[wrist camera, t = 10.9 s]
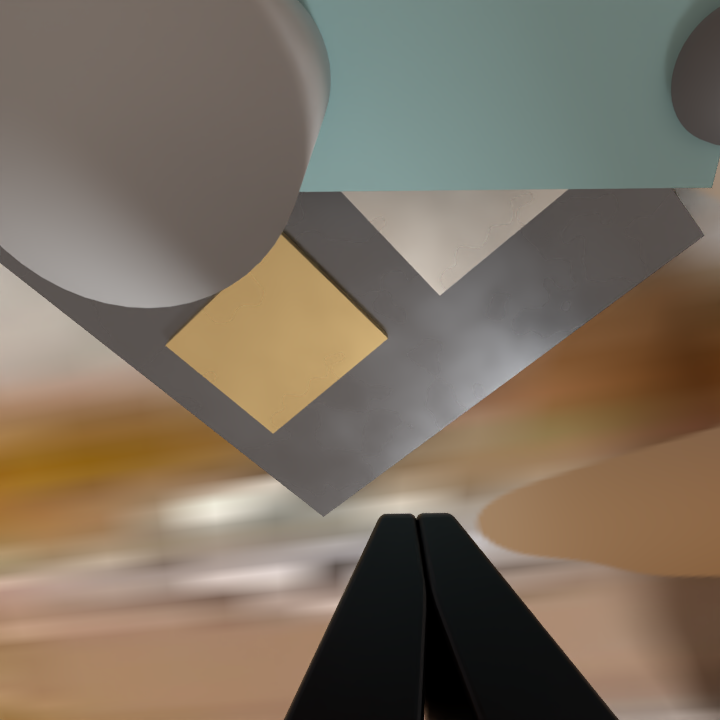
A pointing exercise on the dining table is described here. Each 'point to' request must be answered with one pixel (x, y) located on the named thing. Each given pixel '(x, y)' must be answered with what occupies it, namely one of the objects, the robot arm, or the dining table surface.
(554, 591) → the dining table surface
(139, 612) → the dining table surface
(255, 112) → the teal plank with post
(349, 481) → the panel
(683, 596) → the dining table surface
